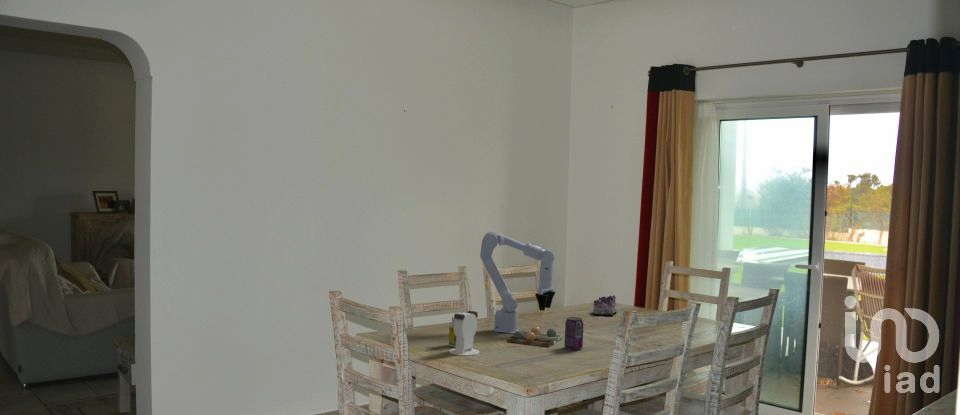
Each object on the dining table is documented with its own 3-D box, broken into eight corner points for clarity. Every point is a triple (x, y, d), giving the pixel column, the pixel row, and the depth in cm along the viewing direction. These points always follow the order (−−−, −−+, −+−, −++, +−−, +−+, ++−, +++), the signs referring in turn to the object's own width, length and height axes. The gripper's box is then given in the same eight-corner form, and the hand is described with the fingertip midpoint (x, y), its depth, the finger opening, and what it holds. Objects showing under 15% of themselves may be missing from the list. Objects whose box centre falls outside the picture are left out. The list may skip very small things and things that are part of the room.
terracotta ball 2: (529, 336, 318) (529, 327, 318) (532, 334, 322) (532, 325, 321) (538, 337, 316) (538, 328, 316) (541, 335, 320) (541, 326, 320)
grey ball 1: (512, 340, 308) (512, 330, 308) (515, 339, 312) (516, 329, 312) (521, 341, 307) (522, 332, 306) (525, 340, 310) (525, 330, 310)
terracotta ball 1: (524, 342, 306) (524, 332, 306) (527, 340, 310) (527, 330, 310) (533, 343, 305) (533, 333, 304) (536, 341, 308) (537, 331, 308)
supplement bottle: (460, 343, 301) (461, 315, 301) (467, 347, 296) (468, 318, 295) (446, 344, 298) (447, 316, 298) (453, 348, 293) (454, 319, 292)
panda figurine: (460, 347, 295) (461, 308, 294) (485, 351, 289) (487, 312, 289) (443, 352, 285) (444, 312, 284) (469, 357, 279) (470, 316, 278)
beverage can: (584, 347, 302) (585, 317, 302) (580, 351, 296) (581, 320, 295) (566, 345, 305) (567, 316, 304) (562, 349, 298) (563, 318, 298)
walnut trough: (506, 341, 308) (507, 338, 308) (512, 339, 314) (512, 335, 313) (549, 347, 301) (549, 343, 301) (553, 344, 306) (554, 340, 306)
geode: (596, 309, 397) (600, 291, 397) (618, 314, 394) (622, 296, 393) (588, 314, 378) (592, 294, 378) (611, 319, 374) (615, 299, 374)
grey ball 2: (545, 338, 315) (545, 328, 315) (548, 336, 319) (548, 327, 319) (554, 339, 314) (554, 329, 314) (557, 337, 317) (557, 328, 317)
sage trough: (513, 338, 314) (513, 335, 314) (522, 334, 325) (522, 330, 324) (554, 343, 307) (554, 340, 307) (562, 339, 317) (562, 335, 317)
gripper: (549, 280, 320) (548, 312, 321) (559, 276, 333) (558, 307, 334) (533, 279, 323) (532, 310, 323) (544, 275, 336) (543, 306, 337)
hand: (544, 309), depth 329 cm, fingers open, 7 cm apart
